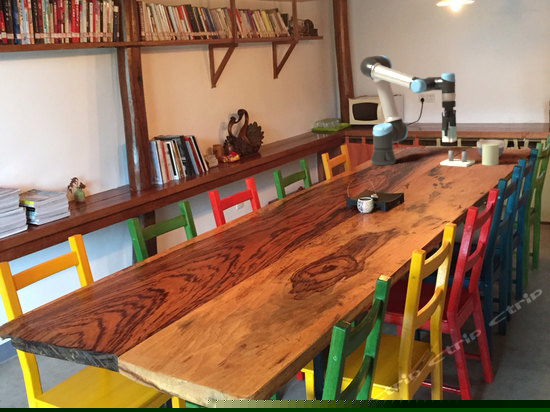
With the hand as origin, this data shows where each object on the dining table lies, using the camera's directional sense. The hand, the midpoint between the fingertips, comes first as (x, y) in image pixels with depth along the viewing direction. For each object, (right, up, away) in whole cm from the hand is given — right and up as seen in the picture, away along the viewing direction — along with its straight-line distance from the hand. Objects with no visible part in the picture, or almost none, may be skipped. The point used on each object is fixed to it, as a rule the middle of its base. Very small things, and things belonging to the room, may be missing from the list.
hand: (449, 140), depth 368 cm
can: (+22, -14, -4) cm, 27 cm away
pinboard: (+5, -13, +2) cm, 14 cm away
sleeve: (0, 0, 0) cm, 0 cm away
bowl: (+28, -9, +13) cm, 33 cm away
